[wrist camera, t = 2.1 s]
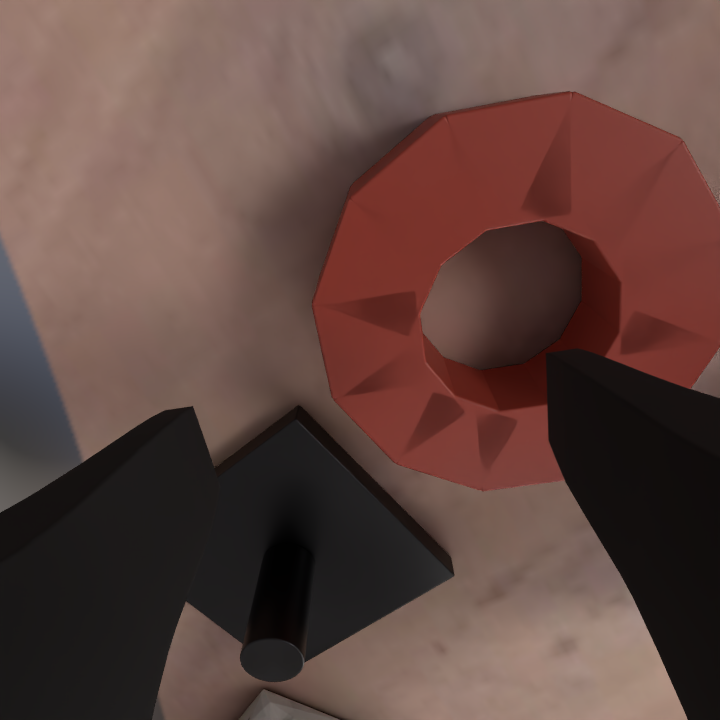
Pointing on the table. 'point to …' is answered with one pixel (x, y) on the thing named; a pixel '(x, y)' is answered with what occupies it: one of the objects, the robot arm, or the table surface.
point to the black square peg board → (306, 549)
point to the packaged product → (280, 709)
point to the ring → (498, 210)
